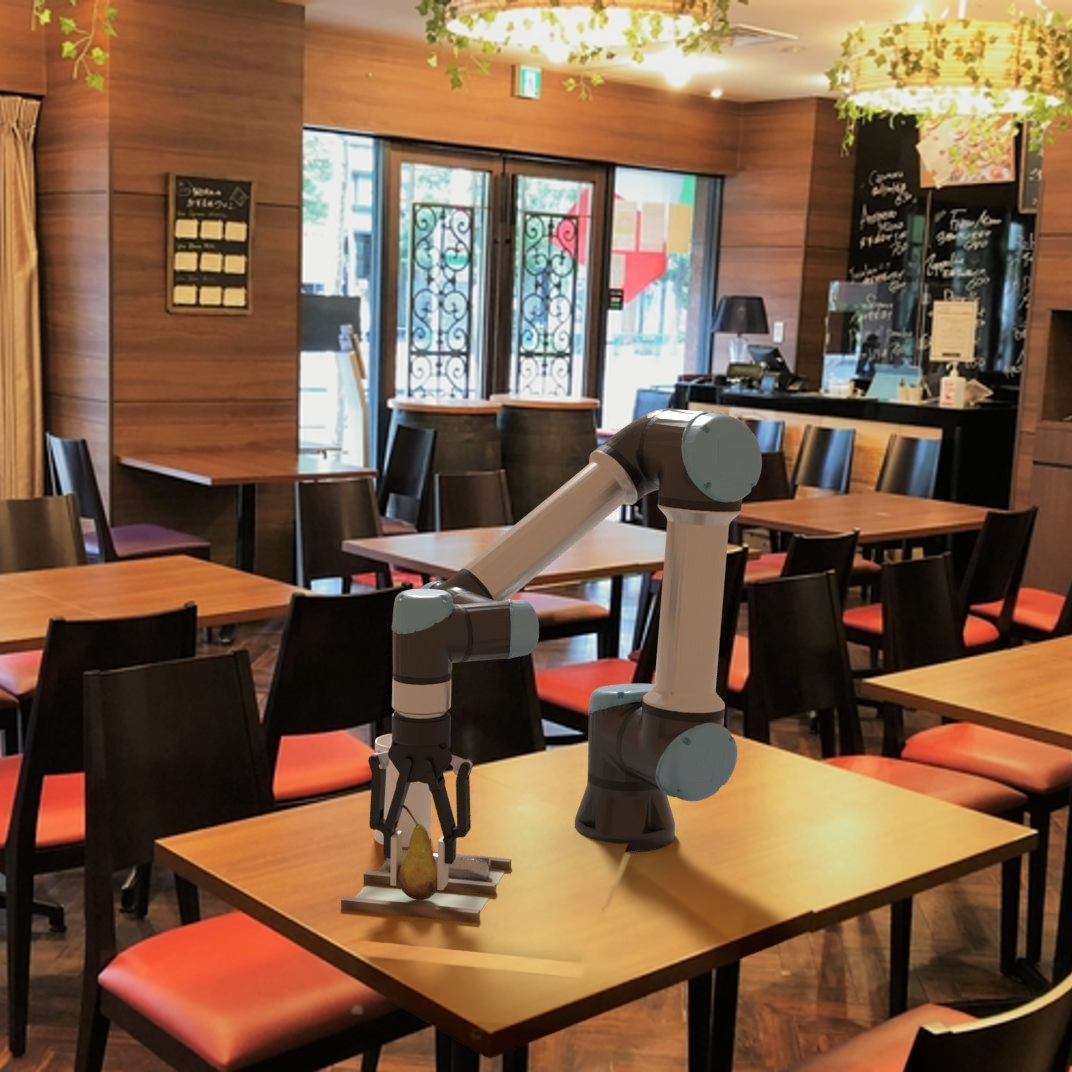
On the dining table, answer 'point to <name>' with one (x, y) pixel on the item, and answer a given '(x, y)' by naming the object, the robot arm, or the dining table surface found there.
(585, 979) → the dining table surface
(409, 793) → the cup
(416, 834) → the fruit
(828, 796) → the dining table surface
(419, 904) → the rack
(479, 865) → the rod
